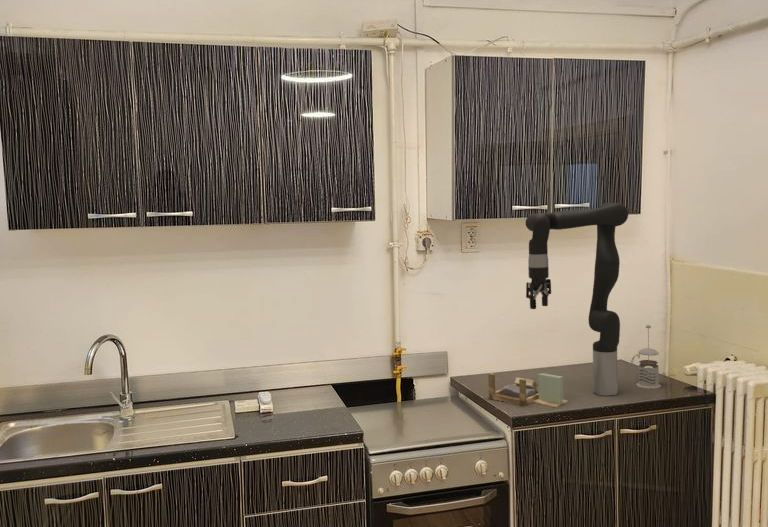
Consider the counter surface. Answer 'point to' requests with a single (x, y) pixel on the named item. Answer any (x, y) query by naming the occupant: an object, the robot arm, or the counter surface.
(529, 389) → the stone block
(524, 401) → the oak rack
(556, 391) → the sage board
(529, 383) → the birch offcut
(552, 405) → the slatted wooden panel
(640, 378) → the french press
